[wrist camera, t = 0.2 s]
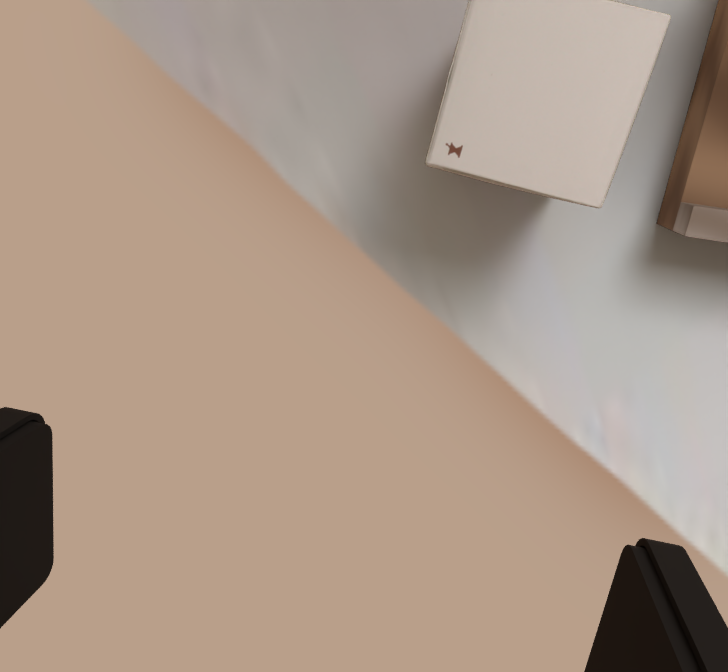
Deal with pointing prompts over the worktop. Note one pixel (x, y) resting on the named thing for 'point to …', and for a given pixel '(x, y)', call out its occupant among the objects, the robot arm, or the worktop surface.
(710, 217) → the wall shelf
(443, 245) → the worktop surface
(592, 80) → the supplement box
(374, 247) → the worktop surface
